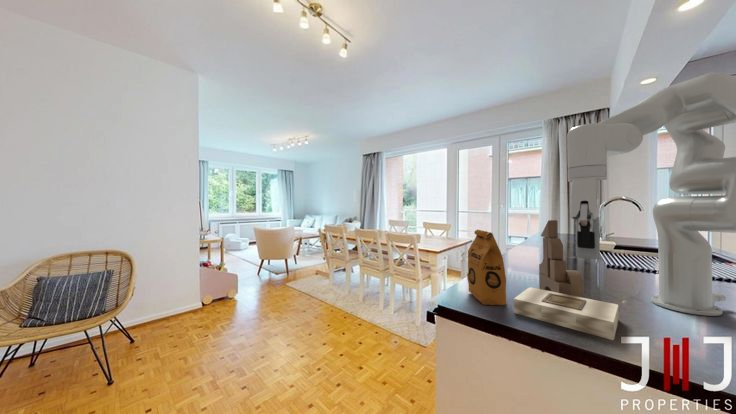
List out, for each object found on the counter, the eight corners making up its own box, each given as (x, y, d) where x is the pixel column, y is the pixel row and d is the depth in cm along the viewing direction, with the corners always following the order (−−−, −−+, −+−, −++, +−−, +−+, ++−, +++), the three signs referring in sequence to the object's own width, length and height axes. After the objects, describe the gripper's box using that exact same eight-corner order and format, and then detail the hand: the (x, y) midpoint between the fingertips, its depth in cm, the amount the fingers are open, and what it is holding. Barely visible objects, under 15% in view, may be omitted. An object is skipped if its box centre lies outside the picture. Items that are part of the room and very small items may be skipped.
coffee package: (477, 306, 75) (475, 233, 75) (465, 292, 88) (464, 229, 88) (511, 307, 74) (510, 232, 74) (494, 292, 87) (493, 228, 87)
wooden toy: (585, 306, 74) (584, 221, 73) (559, 305, 75) (557, 221, 75) (558, 289, 89) (557, 218, 89) (537, 288, 90) (535, 218, 90)
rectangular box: (514, 312, 70) (513, 297, 70) (529, 299, 80) (529, 286, 80) (613, 340, 55) (613, 321, 55) (618, 320, 65) (618, 303, 65)
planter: (604, 259, 61) (604, 217, 61) (586, 259, 61) (586, 217, 61) (588, 255, 66) (587, 216, 66) (571, 255, 66) (570, 216, 66)
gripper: (572, 178, 72) (573, 241, 72) (561, 173, 60) (562, 249, 60) (608, 175, 67) (609, 244, 67) (604, 170, 55) (605, 253, 55)
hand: (587, 246), depth 64 cm, fingers closed on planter, 4 cm apart
